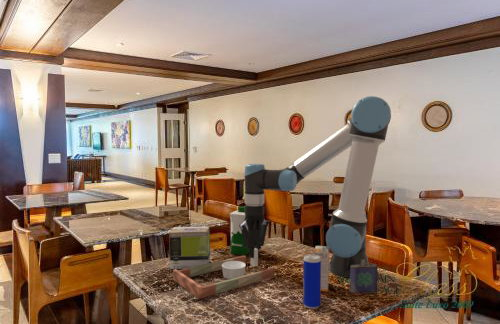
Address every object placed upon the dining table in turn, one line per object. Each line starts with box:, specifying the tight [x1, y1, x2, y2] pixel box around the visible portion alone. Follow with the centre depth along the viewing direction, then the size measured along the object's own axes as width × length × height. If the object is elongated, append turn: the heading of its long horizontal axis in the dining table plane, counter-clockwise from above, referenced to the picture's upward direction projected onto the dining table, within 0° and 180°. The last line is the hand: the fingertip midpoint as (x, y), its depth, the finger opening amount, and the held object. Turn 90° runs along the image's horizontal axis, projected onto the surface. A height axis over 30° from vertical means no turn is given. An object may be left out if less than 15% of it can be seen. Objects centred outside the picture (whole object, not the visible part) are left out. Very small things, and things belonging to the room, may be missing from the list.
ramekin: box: [221, 261, 247, 280], centre depth 133 cm, size 9×9×4 cm
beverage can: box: [302, 253, 322, 310], centre depth 109 cm, size 5×5×15 cm
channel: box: [172, 255, 276, 299], centre depth 131 cm, size 19×31×4 cm, turn 126°
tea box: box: [168, 225, 211, 270], centre depth 144 cm, size 15×10×15 cm
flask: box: [349, 259, 379, 295], centre depth 119 cm, size 9×3×11 cm, turn 96°
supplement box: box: [314, 245, 330, 293], centre depth 123 cm, size 8×5×13 cm, turn 168°
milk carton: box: [229, 205, 249, 256], centre depth 161 cm, size 9×9×20 cm
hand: (254, 265), depth 139 cm, fingers closed
